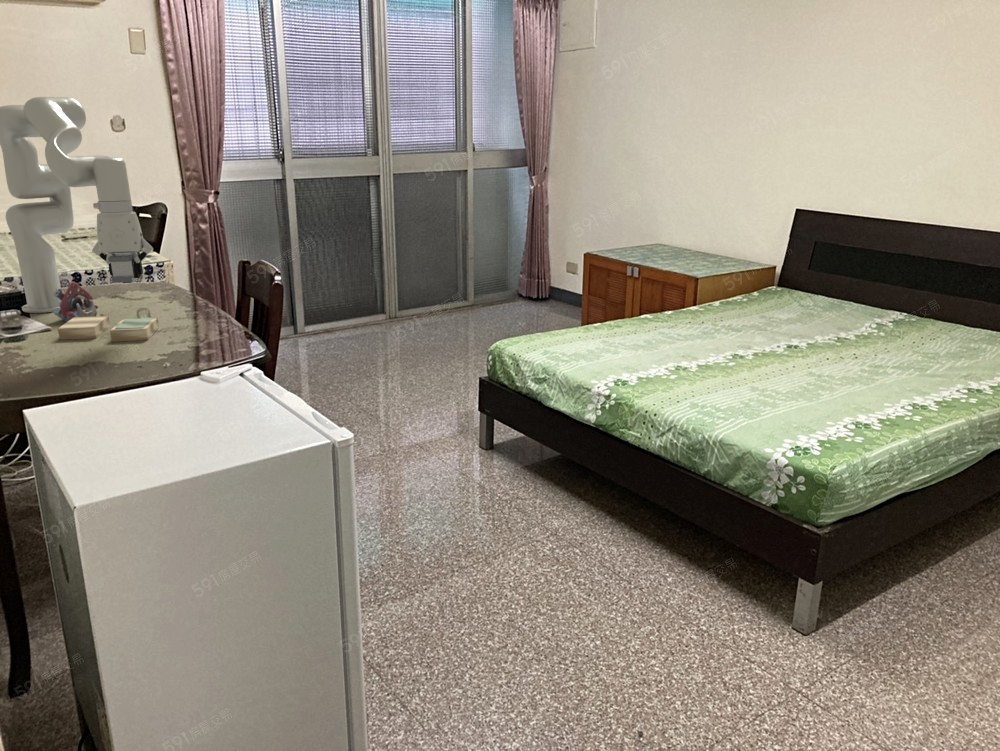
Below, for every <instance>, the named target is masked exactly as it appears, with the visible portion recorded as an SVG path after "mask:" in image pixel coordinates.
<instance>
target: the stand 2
mask: <svg viewBox="0 0 1000 751" xmlns="http://www.w3.org/2000/svg"><path fill="white" fill-rule="evenodd" d="M159 329H160V324H159V318H158V317H142V318H141V317H140V318H139V317H137V318H135V317H133V318H122V319H121V320H120V321H119V322H118V323H117V324H115V325H114V326H113V327H112V328H111V329H109V333H110V339H111V342H127V341H130V342H132V341H134V342H135V341H148V340H150V339H151V337H153V335H154V334H155V333H156V332H157V331H158V330H159Z"/></svg>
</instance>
